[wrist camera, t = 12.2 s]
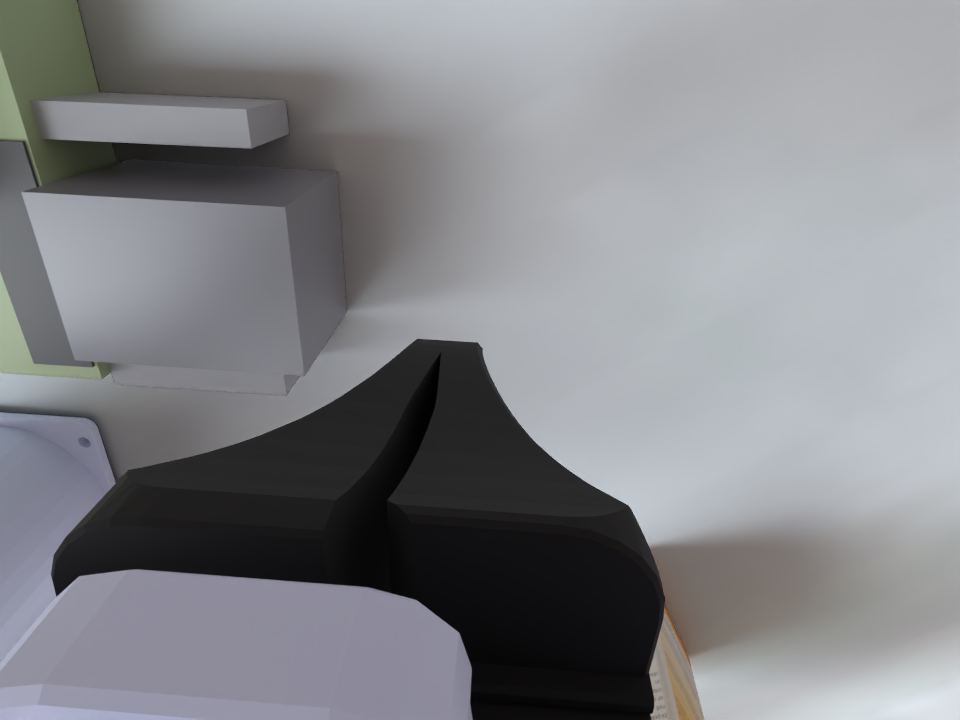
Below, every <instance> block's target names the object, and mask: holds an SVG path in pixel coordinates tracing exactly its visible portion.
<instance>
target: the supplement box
mask: <svg viewBox="0 0 960 720" xmlns="http://www.w3.org/2000/svg"><path fill="white" fill-rule="evenodd" d="M649 675H650V680H651V685H652V690H653V694H654V710H653V713H652V714H650V715H651V720H704V716H703V712H702V708H701V704H700V701H699V697H698V693H697V689H696V685H695V681H694V677H693V673H692V670H691V665H690V661H689V658H688V655H687V653H686V650H685V649H684V646H683V644H682V642H681V640H680V638H679V636H678V634H677V632H676V630H675V628H674V625H673V623H672V621H671V619H670V616H669V614H668V612H667V610H666V608H665V606H664V618H663V622H662V626H661V630H660V633H659V637H658V641H657V645H656V648H655V652H654V656H653V659H652V663H651V667H650V670H649Z"/></svg>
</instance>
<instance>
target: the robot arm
mask: <svg viewBox="0 0 960 720" xmlns="http://www.w3.org/2000/svg"><path fill="white" fill-rule="evenodd" d="M482 350H483V348H482V347H481V346H480V345H479V344H478V343H475V342H458V341H442V340H426V339H417V340H415V341H414V342H413V343H412V344H410V345H409V346H408V347H407V348H406V349H404V350H403V351H402V352H401V353H399V354H398V355H397V356H396V357H395V358H393V359H392V360H391V361H390V362H389V363H387V364H386V365H385V366H384V367H382V368H381V369H380V370H379V371H377V372H376V373H375V374H373V375H372V376H371V377H369V378H368V379H366V380H365V381H363V382H362V383H360V384H359V385H358V386H356V387H355V388H353V389H352V390H350V391H349V392H347V393H346V394H344V395H343V396H341V397H340V398H338V399H336V400H335V401H333V402H331V403H329V404H328V405H326V406H324V407H322V408H320V409H318V410H317V411H315V412H313V413H311V414H309V415H307V416H305V417H303V418H301V419H299V420H296V421H294V422H292V423H289V424H287V425H284V426H282V427H280V428H277V429H275V430H272V431H270V432H268V433H265V434H263V435H260V436H258V437H255V438H252V439H249V440H246V441H243V442H240V443H237V444H234V445H231V446H228V447H225V448H221V449H218V450H214V451H211V452H208V453H204V454H200V455H196V456H192V457H188V458H184V459H179V460H175V461H170V462H165V463H161V464H156V465H152V466H147V467H143V468H137V469H132V470H128V471H127V472H126V473H125V474H124V475H123V476H122V477H121V478H120V479H119V480H118V481H117V482H115V479H114V476H113V473H112V470H111V467H110V464H109V461H108V458H107V455H106V452H105V449H104V445H103V442H102V439H101V436H100V433H99V430H98V428H97V426H96V424H95V423H94V422H93V421H91V420H89V419H86V418H78V417H63V416H48V415H33V414H18V413H3V412H0V720H651V715H650V714H652V713H653V710H654V694H653V690H652V685H651V680H650V675H649V670H650V667H651V663H652V659H653V656H654V652H655V648H656V645H657V641H658V637H659V633H660V630H661V626H662V622H663V618H664V604H665V597H664V594H663V589H662V583H661V579H660V576H659V572H658V569H657V566H656V564H655V561H654V558H653V556H652V553H651V551H650V548H649V546H648V544H647V542H646V539H645V537H644V535H643V533H642V530H641V528H640V526H639V524H638V522H637V520H636V518H635V516H634V514H633V512H632V510H631V508H630V507H629V506H628V505H626V504H624V503H623V502H621V501H619V500H617V499H615V498H613V497H612V496H610V495H608V494H606V493H604V492H602V491H601V490H599V489H597V488H595V487H593V486H591V485H590V484H588V483H586V482H585V481H583V480H582V479H580V478H579V477H578V476H576V475H575V474H573V473H572V472H570V471H569V470H567V469H566V468H565V467H563V466H562V465H561V464H559V463H558V462H557V461H556V460H554V459H553V458H552V457H551V456H550V455H549V454H548V453H546V452H545V451H544V450H543V449H542V448H541V447H540V446H538V445H537V444H536V442H535V441H534V440H533V439H532V438H531V437H530V436H529V435H528V434H527V433H526V431H525V430H524V429H523V428H522V427H521V425H520V424H519V423H518V422H517V420H516V419H515V417H514V416H513V415H512V413H511V412H510V410H509V409H508V407H507V406H506V404H505V403H504V401H503V399H502V398H501V396H500V394H499V393H498V391H497V389H496V387H495V385H494V383H493V381H492V379H491V377H490V375H489V372H488V370H487V367H486V364H485V361H484V358H483V353H482ZM87 439H88V440H89V441H88V440H87Z"/></svg>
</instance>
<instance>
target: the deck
mask: <svg viewBox="0 0 960 720" xmlns="http://www.w3.org/2000/svg"><path fill="white" fill-rule="evenodd" d="M288 134H289V126H288V117H287V108H286V100H274V99H250V98H227V97H203V96H179V95H156V94H132V93H109V92H99V89H98V85H97V81H96V77H95V72H94V68H93V64H92V60H91V56H90V52H89V48H88V44H87V40H86V36H85V32H84V28H83V24H82V20H81V16H80V12H79V7H78V3H77V0H0V373H9V374H25V375H41V376H57V377H72V378H88V379H103V378H104V377H105V376H107V375H108V374H109V373H112V377H113V380H114V383H115V385H127V386H143V387H159V388H174V389H190V390H206V391H221V392H237V393H253V394H268V395H284V396H287V394H288V393H289V391H290V390H291V388H292V387H293V385H294V384H295V382H296V381H297V379H298V378H299V376H296V375H281V374H267V373H252V372H238V371H223V370H208V369H194V368H179V367H165V366H150V365H136V364H121V363H107V362H92V361H78V360H75V359H74V356H73V353H72V350H71V346H70V343H69V340H68V337H67V334H66V331H65V328H64V324H63V321H62V318H61V315H60V312H59V309H58V306H57V303H56V299H55V296H54V293H53V290H52V287H51V284H50V281H49V277H48V274H47V271H46V268H45V265H44V262H43V259H42V255H41V252H40V249H39V246H38V243H37V240H36V237H35V234H34V230H33V227H32V224H31V221H30V218H29V215H28V212H27V208H26V205H25V202H24V199H23V196H22V193H21V192H22V191H26V190H29V189H33V188H36V187H39V186H43V185H46V184H49V183H53V182H56V181H60V180H63V179H66V178H70V177H73V176H76V175H80V174H83V173H86V172H90V171H93V170H97V169H100V168H103V167H107V166H110V165H113V164H117V162H116V158H115V154H114V150H113V146H112V142H119V143H141V144H163V145H184V146H206V147H228V148H250V149H252V148H254V147H257V146H260V145H262V144H265V143H267V142H270V141H272V140H275V139H278V138H280V137H283V136H285V135H288Z"/></svg>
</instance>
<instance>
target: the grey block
mask: <svg viewBox="0 0 960 720" xmlns="http://www.w3.org/2000/svg"><path fill="white" fill-rule="evenodd" d="M21 193H22V196H23V199H24V202H25V205H26V208H27V212H28V215H29V218H30V221H31V224H32V227H33V230H34V234H35V237H36V240H37V243H38V246H39V249H40V252H41V255H42V259H43V262H44V265H45V268H46V271H47V274H48V277H49V281H50V284H51V287H52V290H53V293H54V296H55V299H56V303H57V306H58V309H59V312H60V315H61V318H62V321H63V324H64V328H65V331H66V334H67V337H68V340H69V343H70V346H71V350H72V353H73V356H74V359H75V360H78V361H92V362H107V363H121V364H136V365H150V366H165V367H179V368H194V369H208V370H223V371H238V372H252V373H267V374H281V375H296V376H305V374H306V373H307V371H308V370H309V368H310V367H311V365H312V364H313V362H314V361H315V359H316V357H317V356H318V354H319V353H320V351H321V350H322V348H323V347H324V345H325V344H326V342H327V341H328V339H329V338H330V336H331V335H332V333H333V332H334V330H335V329H336V327H337V326H338V324H339V323H340V321H341V320H342V318H343V316H344V315H345V313H346V312H347V301H346V287H345V272H344V258H343V244H342V230H341V215H340V201H339V187H338V172H337V171H326V170H308V169H290V168H272V167H254V166H236V165H218V164H200V163H182V162H164V161H146V160H127V161H124V162H120V163H117V164H113V165H110V166H107V167H103V168H100V169H97V170H93V171H90V172H86V173H83V174H80V175H76V176H73V177H70V178H66V179H63V180H60V181H56V182H53V183H49V184H46V185H43V186H39V187H36V188H33V189H29V190H26V191H22V192H21Z"/></svg>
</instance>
